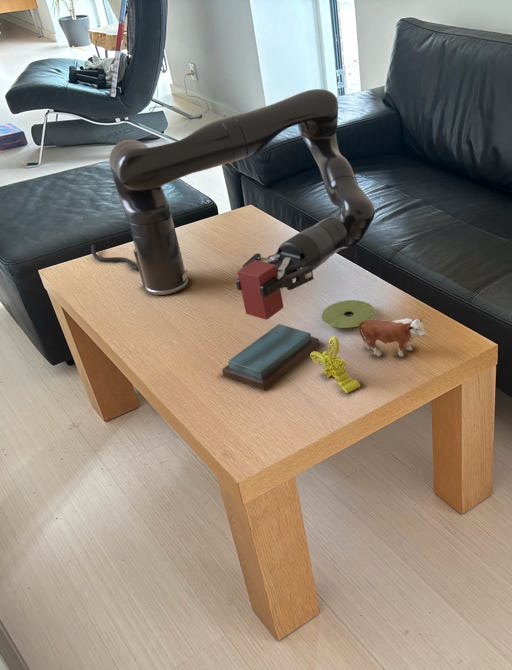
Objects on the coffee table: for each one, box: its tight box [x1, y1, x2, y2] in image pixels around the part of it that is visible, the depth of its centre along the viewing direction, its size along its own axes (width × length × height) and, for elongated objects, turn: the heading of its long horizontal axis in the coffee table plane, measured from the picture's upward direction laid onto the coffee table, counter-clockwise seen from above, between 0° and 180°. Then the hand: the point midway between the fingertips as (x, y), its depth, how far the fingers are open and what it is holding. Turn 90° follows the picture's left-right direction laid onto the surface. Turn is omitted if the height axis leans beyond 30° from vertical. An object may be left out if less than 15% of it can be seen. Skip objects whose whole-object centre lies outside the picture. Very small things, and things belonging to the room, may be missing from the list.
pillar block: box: [236, 260, 284, 321], centre depth 135 cm, size 5×5×9 cm
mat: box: [321, 299, 376, 329], centre depth 154 cm, size 11×11×2 cm
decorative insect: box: [309, 335, 361, 394], centre depth 135 cm, size 13×3×10 cm
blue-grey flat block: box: [221, 323, 320, 391], centre depth 142 cm, size 10×17×3 cm, turn 151°
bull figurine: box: [358, 317, 427, 358], centre depth 142 cm, size 4×13×8 cm, turn 78°
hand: (250, 288), depth 132 cm, fingers closed on pillar block, 5 cm apart
